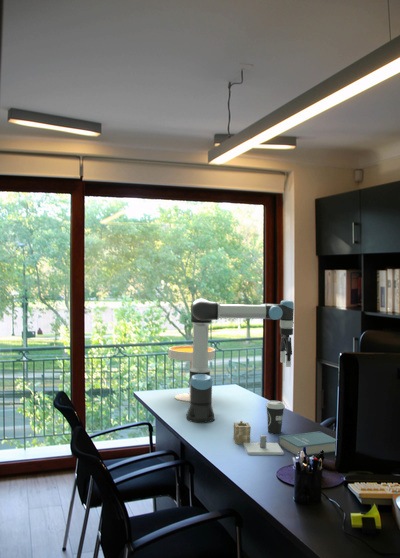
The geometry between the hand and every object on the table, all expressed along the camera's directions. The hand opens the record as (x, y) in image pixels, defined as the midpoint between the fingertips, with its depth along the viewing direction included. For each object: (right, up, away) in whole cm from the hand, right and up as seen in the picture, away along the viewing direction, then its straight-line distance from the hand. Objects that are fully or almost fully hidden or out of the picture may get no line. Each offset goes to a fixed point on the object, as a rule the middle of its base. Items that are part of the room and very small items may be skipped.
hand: (285, 364), depth 308 cm
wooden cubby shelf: (-29, -28, -53) cm, 67 cm away
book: (+1, -30, -60) cm, 67 cm away
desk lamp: (-55, -26, +30) cm, 68 cm away
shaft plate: (-21, -29, -64) cm, 73 cm away
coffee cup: (-11, -29, -37) cm, 48 cm away
